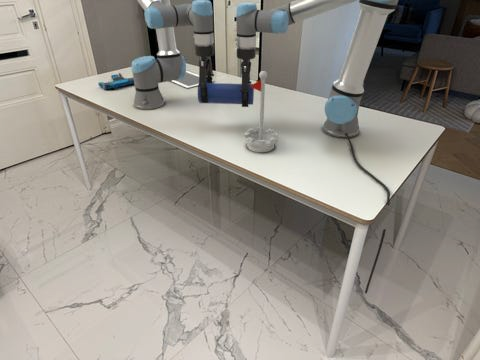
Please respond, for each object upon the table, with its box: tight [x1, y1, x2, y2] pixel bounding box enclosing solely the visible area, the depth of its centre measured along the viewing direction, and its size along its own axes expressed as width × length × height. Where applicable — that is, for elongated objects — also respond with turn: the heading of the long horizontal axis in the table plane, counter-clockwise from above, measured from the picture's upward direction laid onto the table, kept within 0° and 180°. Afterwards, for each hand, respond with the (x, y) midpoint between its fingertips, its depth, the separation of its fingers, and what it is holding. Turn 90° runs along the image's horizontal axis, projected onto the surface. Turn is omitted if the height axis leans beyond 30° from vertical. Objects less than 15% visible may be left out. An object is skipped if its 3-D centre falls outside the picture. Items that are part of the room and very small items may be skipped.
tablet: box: [170, 70, 216, 89], centre depth 214 cm, size 32×20×1 cm, turn 41°
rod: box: [197, 82, 255, 105], centre depth 144 cm, size 23×8×8 cm, turn 85°
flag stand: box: [244, 70, 278, 153], centre depth 129 cm, size 13×13×30 cm
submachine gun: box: [97, 74, 134, 90], centre depth 209 cm, size 34×4×25 cm
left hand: (207, 96), depth 145 cm, fingers open, 13 cm apart
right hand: (245, 102), depth 146 cm, fingers closed on rod, 8 cm apart
